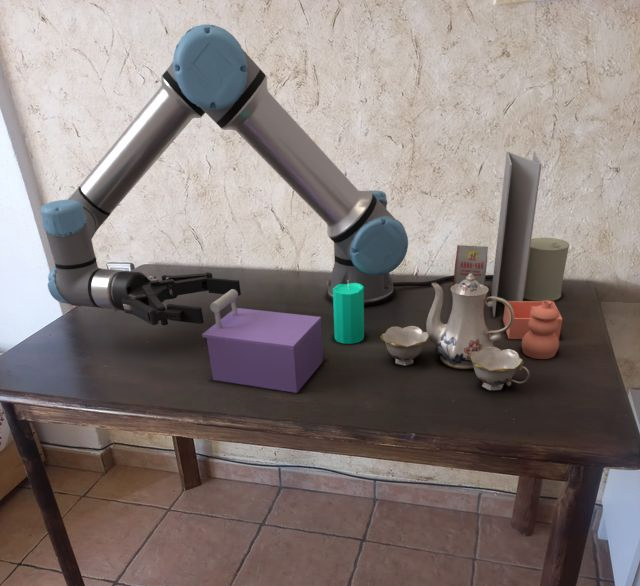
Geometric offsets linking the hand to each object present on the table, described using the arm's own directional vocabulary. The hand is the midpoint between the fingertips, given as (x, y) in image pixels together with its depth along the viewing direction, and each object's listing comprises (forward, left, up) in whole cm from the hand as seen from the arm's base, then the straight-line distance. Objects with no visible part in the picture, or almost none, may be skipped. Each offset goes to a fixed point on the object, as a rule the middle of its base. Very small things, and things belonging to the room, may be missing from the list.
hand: (221, 301), depth 110 cm
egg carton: (+18, -46, -13) cm, 52 cm away
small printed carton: (-59, -21, -13) cm, 64 cm away
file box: (-7, +5, -13) cm, 15 cm away
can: (-72, -12, -13) cm, 74 cm away
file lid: (-6, +4, -4) cm, 9 cm away
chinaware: (-40, +14, -13) cm, 44 cm away
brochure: (-62, -9, -13) cm, 64 cm away
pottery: (-58, +8, -13) cm, 60 cm away
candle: (-25, -4, -13) cm, 28 cm away
